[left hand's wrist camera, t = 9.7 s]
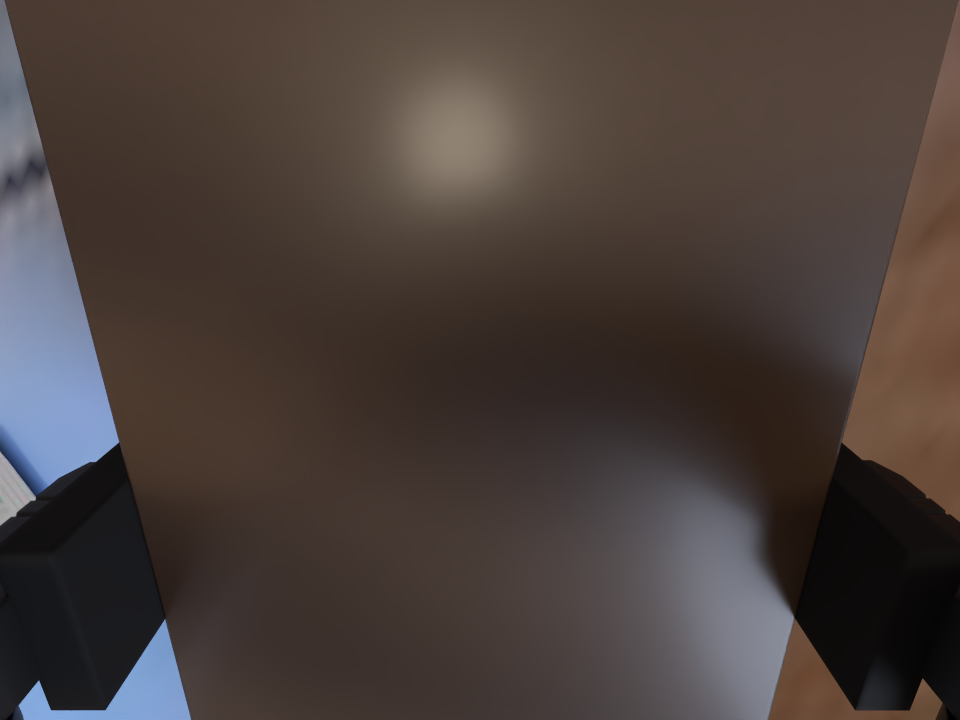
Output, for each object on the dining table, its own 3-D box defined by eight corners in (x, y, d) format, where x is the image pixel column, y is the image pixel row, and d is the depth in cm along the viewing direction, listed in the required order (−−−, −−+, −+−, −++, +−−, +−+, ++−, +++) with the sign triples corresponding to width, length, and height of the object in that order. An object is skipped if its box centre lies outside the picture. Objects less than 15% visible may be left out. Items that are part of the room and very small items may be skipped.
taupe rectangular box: (250, -208, 13) (-256, -978, 4) (711, -207, 13) (1222, -974, 4) (327, 480, 19) (199, 762, 10) (632, 480, 19) (759, 762, 10)
